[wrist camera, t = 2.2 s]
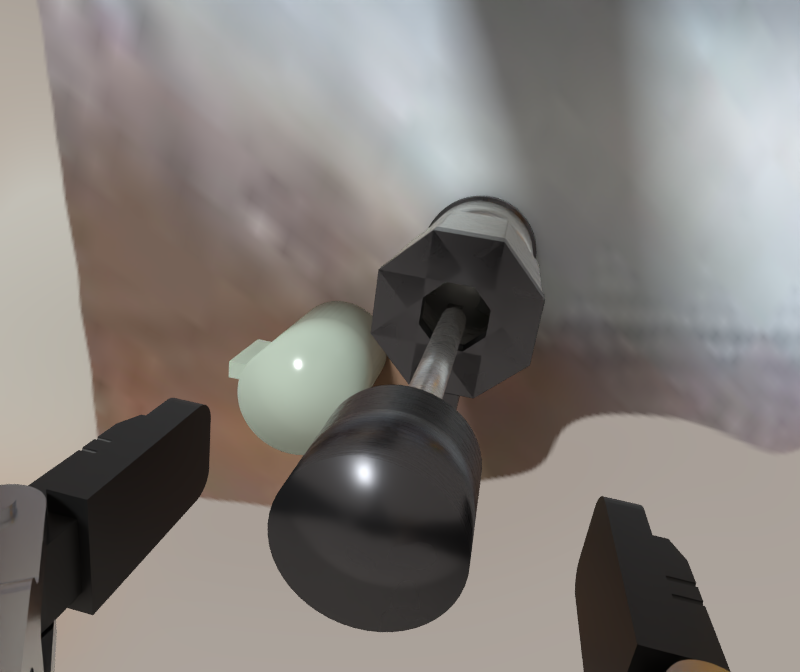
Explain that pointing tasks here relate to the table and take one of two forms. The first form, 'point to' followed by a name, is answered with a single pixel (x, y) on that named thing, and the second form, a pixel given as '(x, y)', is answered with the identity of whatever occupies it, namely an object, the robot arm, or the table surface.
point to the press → (464, 294)
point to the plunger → (384, 501)
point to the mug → (306, 374)
